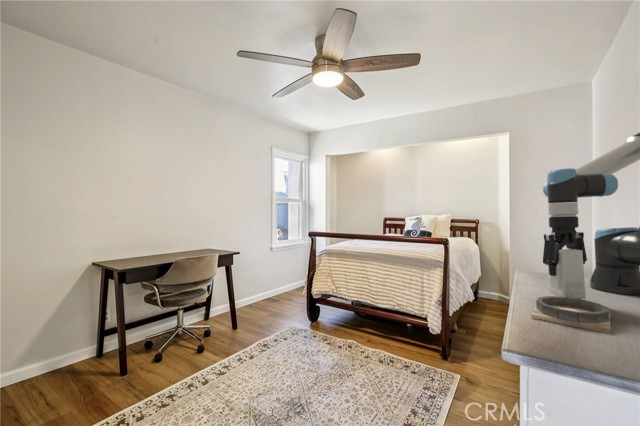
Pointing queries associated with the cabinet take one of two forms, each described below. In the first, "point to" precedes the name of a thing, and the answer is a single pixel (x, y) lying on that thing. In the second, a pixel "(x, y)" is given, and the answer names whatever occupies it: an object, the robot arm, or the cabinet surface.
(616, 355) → the cabinet surface
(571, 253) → the skincare box
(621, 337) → the cabinet surface
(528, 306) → the cabinet surface
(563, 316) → the collar
